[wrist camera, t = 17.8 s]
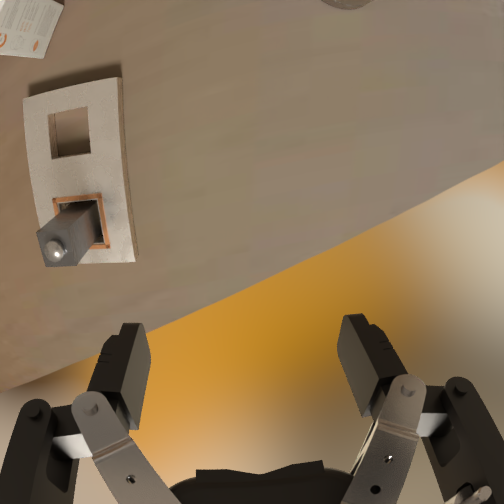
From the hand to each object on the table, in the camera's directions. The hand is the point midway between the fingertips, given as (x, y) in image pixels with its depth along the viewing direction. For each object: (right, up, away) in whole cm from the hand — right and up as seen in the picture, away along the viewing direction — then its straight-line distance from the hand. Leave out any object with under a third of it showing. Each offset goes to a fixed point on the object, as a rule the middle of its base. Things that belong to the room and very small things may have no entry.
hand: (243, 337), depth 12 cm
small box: (-28, +33, +15) cm, 46 cm away
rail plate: (-22, +13, +25) cm, 36 cm away
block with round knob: (-22, +8, +27) cm, 36 cm away
